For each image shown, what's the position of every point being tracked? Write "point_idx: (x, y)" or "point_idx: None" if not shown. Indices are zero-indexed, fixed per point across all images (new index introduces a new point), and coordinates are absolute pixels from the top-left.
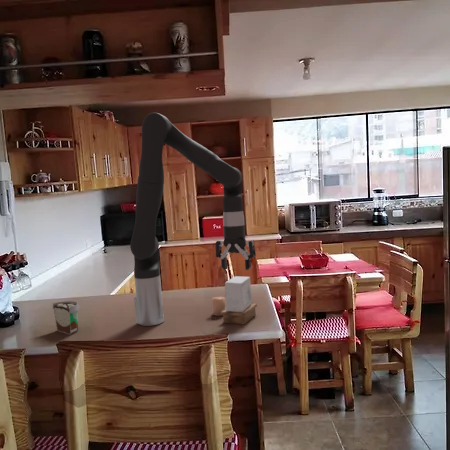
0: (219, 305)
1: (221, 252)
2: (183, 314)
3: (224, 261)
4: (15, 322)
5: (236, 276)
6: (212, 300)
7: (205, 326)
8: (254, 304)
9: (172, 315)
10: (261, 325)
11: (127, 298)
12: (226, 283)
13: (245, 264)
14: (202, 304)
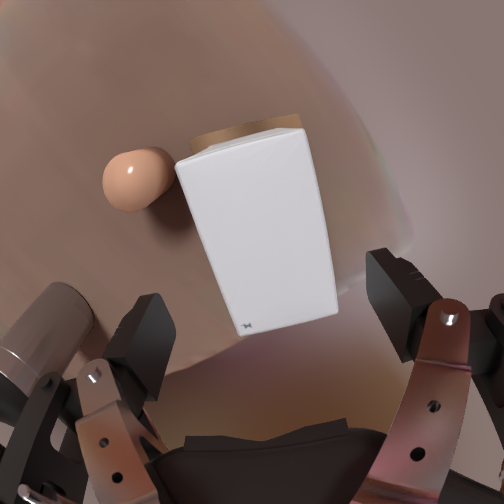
0: (157, 197)
1: (52, 410)
2: (67, 228)
3: (160, 386)
4: None
5: (195, 171)
6: (121, 207)
7: (205, 289)
8: (295, 126)
9: (55, 248)
10: (364, 219)
11: None
12: (248, 331)
13: (387, 328)
14: (41, 119)
